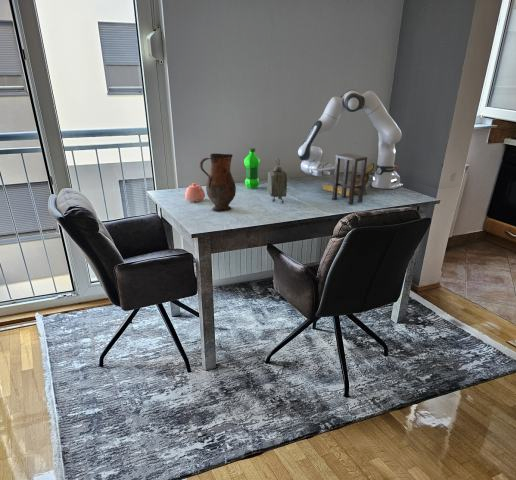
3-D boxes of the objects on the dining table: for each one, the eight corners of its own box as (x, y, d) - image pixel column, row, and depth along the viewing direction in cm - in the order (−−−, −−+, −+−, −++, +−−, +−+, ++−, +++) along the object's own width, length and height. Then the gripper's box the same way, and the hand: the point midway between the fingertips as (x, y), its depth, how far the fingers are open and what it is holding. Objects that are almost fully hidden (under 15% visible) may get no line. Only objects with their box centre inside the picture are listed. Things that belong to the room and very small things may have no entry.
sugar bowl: (197, 196, 298) (196, 180, 292) (211, 200, 289) (210, 183, 284) (181, 200, 290) (180, 183, 285) (195, 204, 282) (194, 187, 277)
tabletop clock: (286, 204, 283) (287, 160, 270) (271, 204, 282) (272, 160, 269) (281, 198, 295) (282, 156, 282) (267, 198, 294) (267, 156, 281)
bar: (326, 188, 318) (326, 184, 316) (352, 195, 301) (352, 190, 300) (322, 189, 316) (323, 184, 315) (348, 196, 300) (349, 191, 298)
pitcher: (242, 209, 272) (241, 154, 256) (211, 216, 261) (208, 159, 245) (226, 203, 283) (224, 150, 268) (195, 209, 272) (191, 154, 256)
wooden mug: (374, 193, 307) (378, 164, 297) (357, 195, 302) (360, 166, 292) (366, 190, 314) (369, 162, 304) (349, 192, 309) (352, 163, 299)
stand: (343, 196, 299) (347, 153, 285) (362, 201, 288) (367, 157, 274) (332, 199, 294) (335, 154, 280) (350, 204, 283) (355, 158, 269)
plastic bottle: (259, 189, 315) (259, 149, 302) (244, 189, 315) (243, 149, 302) (260, 186, 323) (260, 147, 310) (244, 186, 323) (244, 147, 311)
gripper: (308, 166, 308) (322, 169, 299) (330, 162, 319) (345, 166, 309) (307, 176, 312) (322, 179, 302) (329, 172, 322) (344, 176, 313)
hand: (334, 172), depth 306 cm, fingers open, 5 cm apart
